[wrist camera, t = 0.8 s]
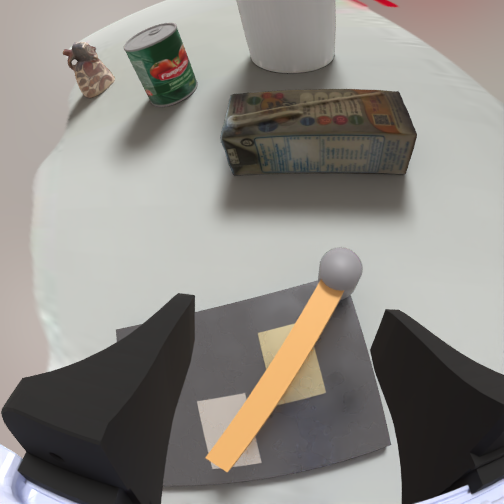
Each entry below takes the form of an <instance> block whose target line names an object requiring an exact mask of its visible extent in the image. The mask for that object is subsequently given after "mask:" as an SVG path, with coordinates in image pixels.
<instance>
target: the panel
mask: <svg viewBox="0 0 504 504" xmlns="http://www.w3.org/2000/svg"><path fill="white" fill-rule="evenodd" d="M317 285H318V281H314V282H311V283H307V284H303V285H300V286H296V287H293V288H289V289H285V290H282V291H278V292H274V293H270V294H267V295H263V296H259V297H255V298H251V299H247V300H243V301H239V302H235V303H231V304H227V305H223V306H219V307H215V308H211V309H207V310H203V311H199V312H195V342H194V347H193V353H192V358H191V363H190V366H189V369H188V372H187V375H186V379H185V382H184V385H183V388H182V391H181V394H180V397H179V400H178V404H177V407H176V410H175V414H174V418H173V422H172V428H171V433H170V439H169V445H168V451H167V457H166V464H165V471H164V479H163V486H190V485H211V484H224V483H234V482H243V481H251V480H258V479H265V478H271V477H277V476H282V475H288V474H293V473H297V472H302V471H307V470H311V469H315V468H319V467H323V466H327V465H331V464H334V463H338V462H341V461H345V460H348V459H351V458H355V457H358V456H361V455H364V454H367V453H370V452H373V451H376V450H378V449H381V448H384V447H387V446H389V445H391V442H390V438H389V433H388V428H387V424H386V420H385V415H384V411H383V407H382V403H381V399H380V395H379V391H378V387H377V383H376V379H375V376H374V372H373V368H372V365H371V361H370V357H369V354H368V350H367V347H366V343H365V340H364V337H363V333H362V330H361V327H360V323H359V320H358V317H357V314H356V311H355V307H354V304H353V301H352V298H351V295H350V296H348V297H346V298H344V299H340V301H339V303H338V305H337V307H336V308H335V310H334V312H333V314H332V316H331V318H330V319H329V321H328V323H327V325H326V326H325V328H324V330H323V332H322V333H321V335H320V337H319V339H318V340H317V342H316V344H315V346H314V347H313V349H312V351H311V352H310V354H309V356H308V357H307V359H306V361H305V362H304V364H303V365H302V367H301V369H300V370H299V372H298V374H297V375H296V377H295V378H294V380H293V381H292V383H291V385H290V386H289V388H288V389H287V391H286V392H285V394H284V395H283V397H282V398H281V400H280V402H279V403H278V405H277V406H276V408H275V409H274V410H273V412H272V413H271V415H270V416H269V418H268V419H267V421H266V422H265V424H264V425H263V426H262V428H261V429H260V431H259V432H258V433H257V435H256V436H255V438H254V439H253V440H252V442H251V443H250V445H249V446H248V447H247V449H246V450H245V451H244V453H243V454H242V455H241V457H240V458H239V459H238V461H237V462H236V463H235V465H234V466H233V467H232V468H231V469H230V470H229V471H228V472H226V471H224V470H223V469H221V468H220V467H218V466H217V465H215V464H214V463H212V462H211V461H209V460H208V459H206V458H205V457H206V456H207V455H208V453H209V452H210V451H211V449H212V448H213V447H214V445H215V444H216V443H217V441H218V440H219V438H220V437H221V436H222V434H223V433H224V431H225V430H226V429H227V427H228V426H229V424H230V423H231V422H232V420H233V419H234V417H235V416H236V414H237V413H238V412H239V410H240V409H241V407H242V406H243V404H244V403H245V401H246V400H247V398H248V397H249V395H250V394H251V392H252V391H253V389H254V388H255V386H256V385H257V383H258V382H259V380H260V379H261V377H262V376H263V374H264V373H265V371H266V370H267V368H268V366H269V365H270V363H271V362H272V360H273V359H274V357H275V355H276V354H277V352H278V351H279V349H280V348H281V346H282V344H283V343H284V341H285V339H286V338H287V336H288V335H289V333H290V331H291V330H292V328H293V326H294V325H295V323H296V321H297V320H298V318H299V316H300V315H301V313H302V311H303V310H304V308H305V306H306V304H307V303H308V301H309V299H310V298H311V296H312V294H313V292H314V291H315V289H316V287H317ZM141 325H142V324H141ZM141 325H136V326H131V327H127V328H122V329H117V330H116V336H117V342H118V341H120V340H121V339H123V338H124V337H126V336H127V335H129V334H130V333H132V332H133V331H134V330H136V329H137V328H138V327H140V326H141Z"/></svg>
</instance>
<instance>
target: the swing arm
mask: <svg viewBox="0 0 504 504" xmlns="http://www.w3.org/2000/svg"><path fill="white" fill-rule="evenodd" d="M361 275H362V263H361V260H360V258H359V257H358V255H357V254H356V253H355V252H353V251H352V250H350V249H347V248H343V247H339V248H334V249H331V250H329V251H328V252H326V253H325V254H324V256H323V257H322V259H321V261H320V267H319V276H318V285H317V287H316V289H315V291H314V292H313V294H312V296H311V298H310V299H309V301H308V303H307V304H306V306H305V308H304V310H303V311H302V313H301V315H300V316H299V318H298V320H297V321H296V323H295V325H294V326H293V328H292V330H291V331H290V333H289V335H288V336H287V338H286V339H285V341H284V343H283V344H282V346H281V348H280V349H279V351H278V352H277V354H276V355H275V357H274V359H273V360H272V362H271V363H270V365H269V366H268V368H267V370H266V371H265V373H264V374H263V376H262V377H261V379H260V380H259V382H258V383H257V385H256V386H255V388H254V389H253V391H252V392H251V394H250V395H249V397H248V398H247V400H246V401H245V403H244V404H243V406H242V407H241V409H240V410H239V412H238V413H237V414H236V416H235V417H234V419H233V420H232V422H231V423H230V424H229V426H228V427H227V429H226V430H225V431H224V433H223V434H222V436H221V437H220V438H219V440H218V441H217V443H216V444H215V445H214V447H213V448H212V449H211V451H210V452H209V453H208V455H207V456H206V457H205V458H206V459H208V460H209V461H211V462H212V463H214V464H215V465H217V466H218V467H220V468H221V469H223V470H224V471H226V472H228V471H229V470H230V469H231V468H232V467H233V466H234V465H235V463H236V462H237V461H238V459H239V458H240V457H241V455H242V454H243V453H244V451H245V450H246V449H247V447H248V446H249V445H250V443H251V442H252V440H253V439H254V438H255V436H256V435H257V433H258V432H259V431H260V429H261V428H262V426H263V425H264V424H265V422H266V421H267V419H268V418H269V416H270V415H271V413H272V412H273V410H274V409H275V408H276V406H277V405H278V403H279V402H280V400H281V398H282V397H283V395H284V394H285V392H286V391H287V389H288V388H289V386H290V385H291V383H292V381H293V380H294V378H295V377H296V375H297V374H298V372H299V370H300V369H301V367H302V365H303V364H304V362H305V361H306V359H307V357H308V356H309V354H310V352H311V351H312V349H313V347H314V346H315V344H316V342H317V340H318V339H319V337H320V335H321V333H322V332H323V330H324V328H325V326H326V325H327V323H328V321H329V319H330V318H331V316H332V314H333V312H334V310H335V308H336V307H337V305H338V303H339V301H340V299H344V298H346V297H348V296H350V295H351V294H352V293H353V291H354V290H355V288H356V285H357V283H358V281H359V279H360V277H361Z"/></svg>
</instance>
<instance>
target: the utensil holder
mask: <svg viewBox="0 0 504 504" xmlns="http://www.w3.org/2000/svg"><path fill="white" fill-rule="evenodd" d="M236 1H237V5H238V9H239V13H240V17H241V21H242V25H243V29H244V33H245V37H246V40H247V44H248V48H249V51H250V55H251V59H252V61H253V62H254V63H255V64H256V65H257V66H259V67H261V68H263V69H266V70H269V71H273V72H279V73H302V72H309V71H313V70H317V69H319V68H322V67H324V66H326V65H327V64H329V63H330V62H331V61H332V60H333V58H334V52H335V32H336V9H335V0H236Z"/></svg>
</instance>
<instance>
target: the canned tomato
mask: <svg viewBox="0 0 504 504" xmlns="http://www.w3.org/2000/svg"><path fill="white" fill-rule="evenodd" d="M124 50H125V51H126V53H127V55H128V58H129V59H130V61H131V63H132V65H133V67H134V69H135V71H136V73H137V75H138V77H139V79H140V81H141V83H142V85H143V87H144V89H145V91H146V93H147V95H148V97H149V99H150V102H151V103H152V104H153V105H154V106H158V107H165V106H170V105H174V104H176V103H179V102H181V101H183V100H184V99H186V98H187V97H189V96H190V95H191V94H192V93H193V92H194V91H195V89H196V88H197V80H196V79H195V76H194V73H193V70H192V67H191V64H190V61H189V59H188V56H187V53H186V51H185V48H184V45H183V43H182V40H181V38H180V34H179V32H178V30H177V25H176V24H174V23H164V24H159V25H156V26H153V27H150V28H148V29H145V30H143V31H141V32H140V33H138V34H136V35H135V36H133V37H132V38H131V39H129V40H128V41H127V42H126V44H125V45H124Z"/></svg>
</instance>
